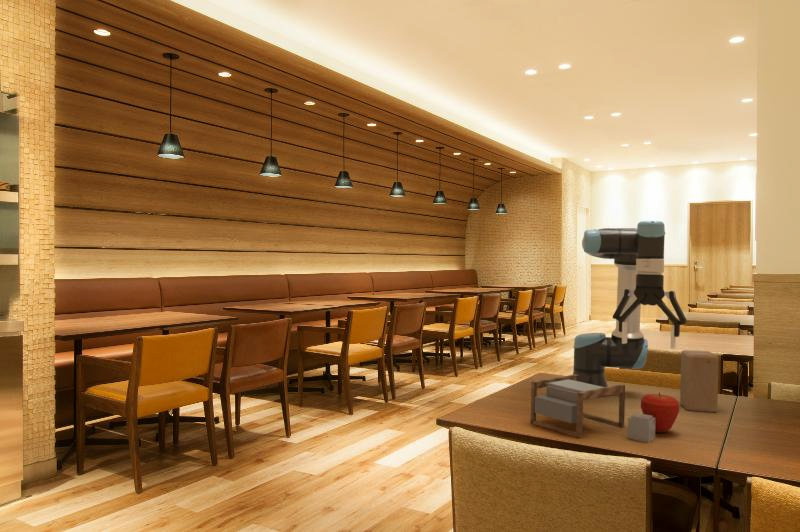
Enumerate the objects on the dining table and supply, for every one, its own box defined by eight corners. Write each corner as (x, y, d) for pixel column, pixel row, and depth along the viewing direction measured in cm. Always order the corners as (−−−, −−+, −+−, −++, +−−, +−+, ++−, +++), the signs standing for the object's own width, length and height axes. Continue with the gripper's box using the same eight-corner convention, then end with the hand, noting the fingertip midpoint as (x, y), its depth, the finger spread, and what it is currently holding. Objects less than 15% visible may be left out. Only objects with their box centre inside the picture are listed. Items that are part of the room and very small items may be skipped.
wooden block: (718, 413, 201) (719, 355, 201) (687, 411, 203) (688, 354, 203) (708, 406, 211) (710, 350, 211) (679, 404, 213) (680, 349, 213)
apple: (659, 438, 171) (660, 397, 171) (631, 428, 181) (632, 389, 181) (687, 434, 175) (688, 394, 175) (658, 425, 185) (659, 387, 185)
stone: (627, 438, 171) (628, 415, 171) (634, 433, 176) (634, 411, 176) (649, 442, 167) (649, 419, 167) (655, 438, 172) (655, 415, 172)
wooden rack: (579, 438, 170) (580, 393, 170) (530, 422, 185) (531, 381, 185) (624, 426, 183) (625, 384, 183) (574, 413, 198) (575, 374, 198)
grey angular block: (573, 423, 171) (574, 394, 170) (532, 411, 183) (533, 384, 183) (608, 415, 180) (609, 387, 180) (567, 404, 193) (568, 378, 193)
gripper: (603, 272, 176) (601, 342, 176) (693, 274, 161) (691, 351, 161) (610, 272, 182) (609, 340, 182) (699, 274, 167) (697, 348, 167)
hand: (648, 345), depth 172 cm, fingers open, 13 cm apart
